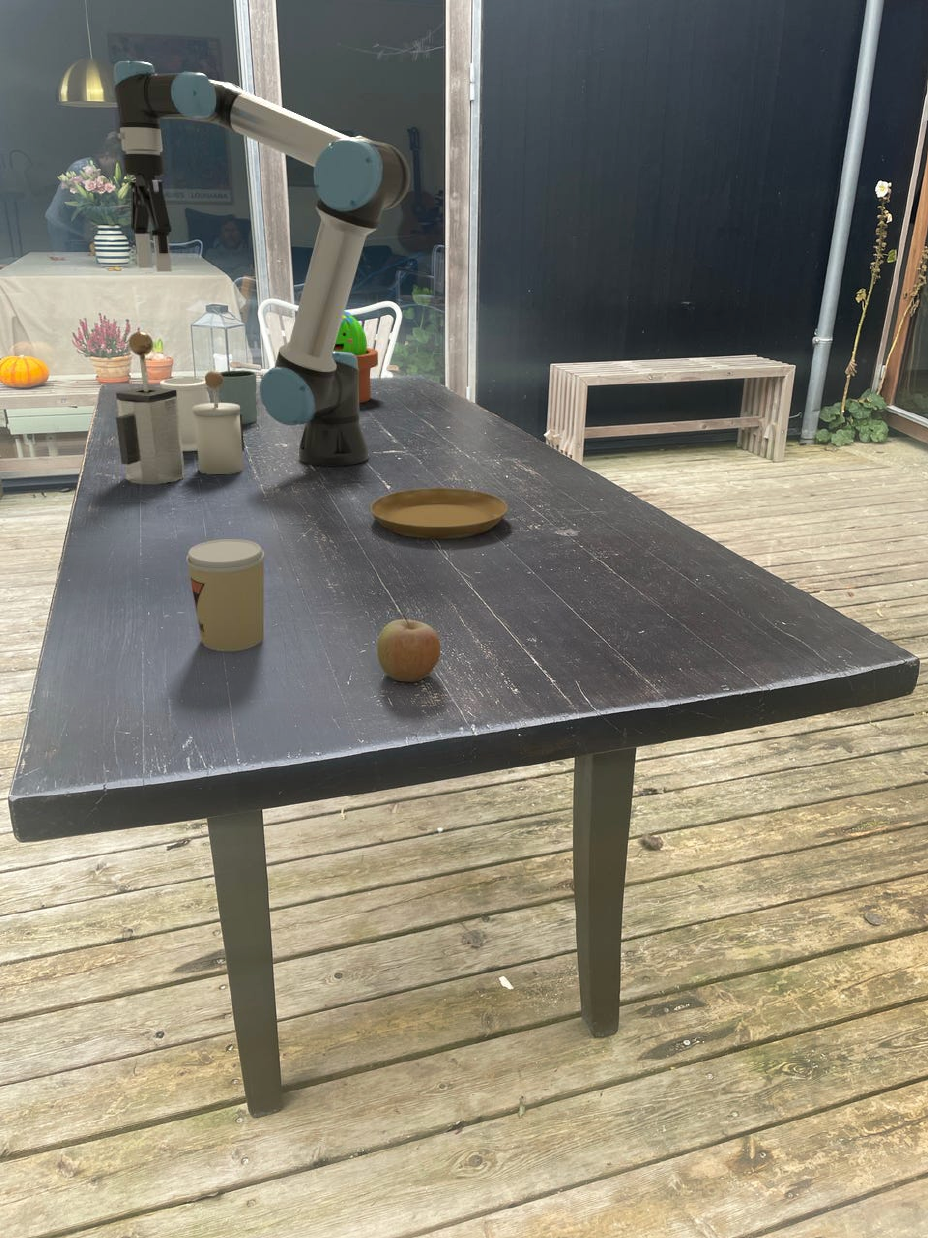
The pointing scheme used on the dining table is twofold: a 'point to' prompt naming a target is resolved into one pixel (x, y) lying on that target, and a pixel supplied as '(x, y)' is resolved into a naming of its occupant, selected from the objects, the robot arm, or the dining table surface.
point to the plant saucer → (438, 512)
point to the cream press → (218, 432)
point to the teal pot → (240, 392)
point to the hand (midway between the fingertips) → (154, 269)
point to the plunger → (142, 353)
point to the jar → (188, 406)
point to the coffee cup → (228, 593)
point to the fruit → (408, 649)
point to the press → (150, 435)
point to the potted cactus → (357, 352)
